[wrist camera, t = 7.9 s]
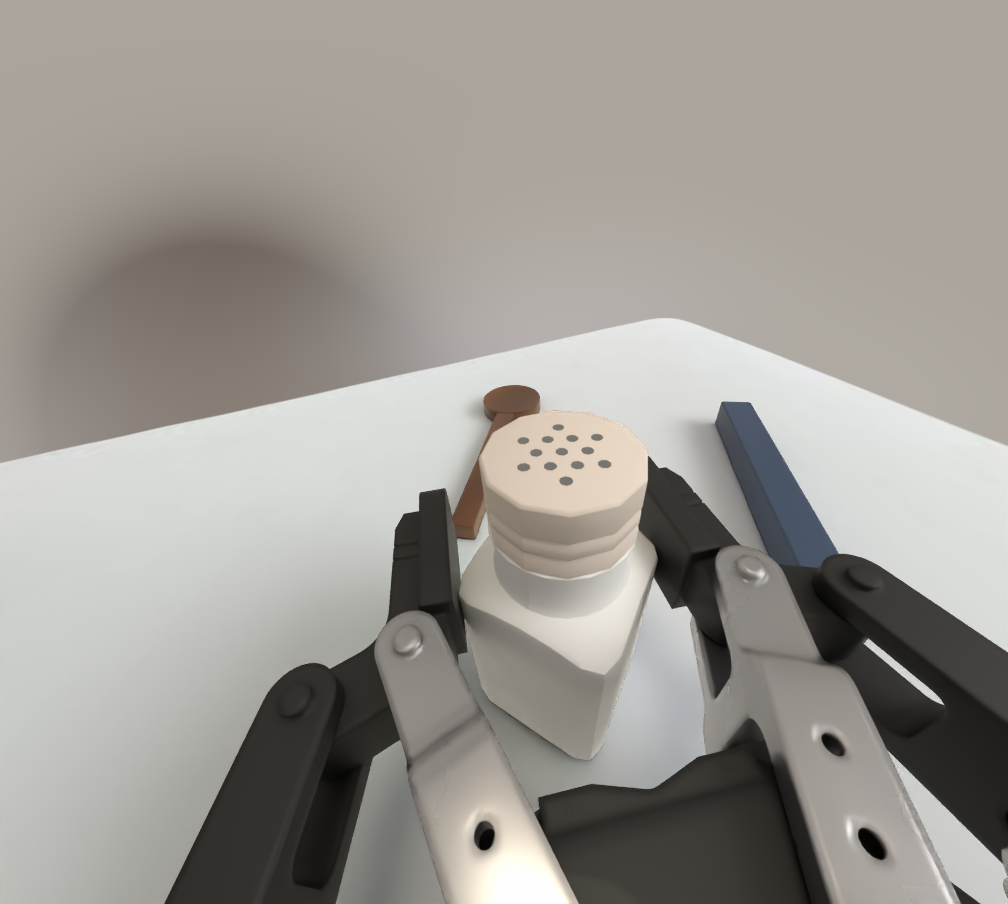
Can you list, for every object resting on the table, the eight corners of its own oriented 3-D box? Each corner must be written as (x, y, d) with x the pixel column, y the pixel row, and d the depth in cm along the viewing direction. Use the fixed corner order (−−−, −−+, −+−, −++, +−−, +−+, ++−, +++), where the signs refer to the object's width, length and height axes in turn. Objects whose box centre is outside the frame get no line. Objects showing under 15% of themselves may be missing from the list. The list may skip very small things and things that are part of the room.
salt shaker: (634, 651, 13) (696, 424, 8) (592, 777, 11) (637, 575, 5) (534, 600, 15) (522, 386, 9) (476, 697, 12) (412, 482, 7)
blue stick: (792, 616, 14) (810, 591, 13) (714, 423, 24) (721, 400, 23) (844, 623, 13) (866, 598, 12) (742, 424, 23) (750, 401, 22)
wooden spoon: (424, 533, 18) (420, 521, 18) (491, 394, 29) (490, 384, 29) (504, 543, 18) (502, 530, 17) (543, 396, 28) (543, 385, 28)
